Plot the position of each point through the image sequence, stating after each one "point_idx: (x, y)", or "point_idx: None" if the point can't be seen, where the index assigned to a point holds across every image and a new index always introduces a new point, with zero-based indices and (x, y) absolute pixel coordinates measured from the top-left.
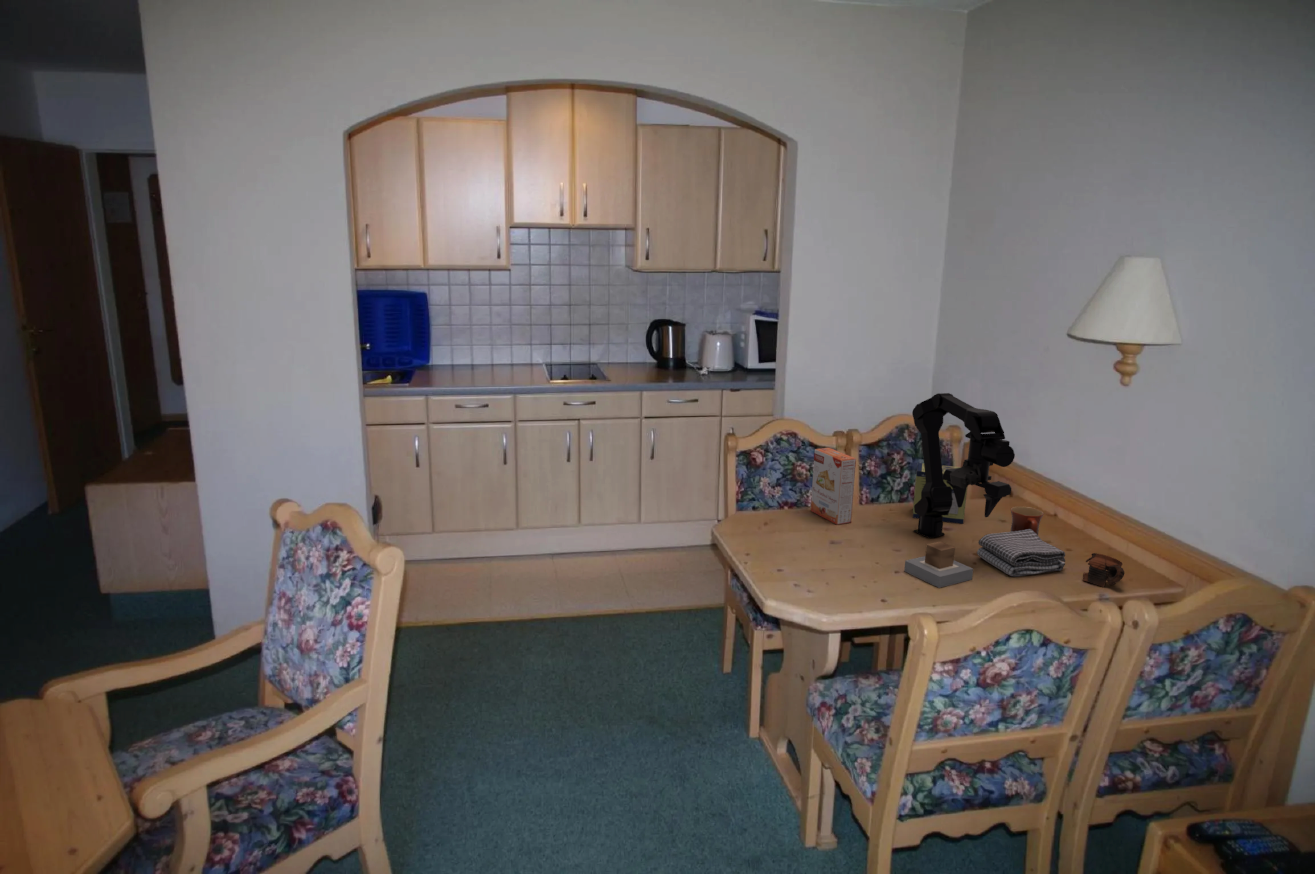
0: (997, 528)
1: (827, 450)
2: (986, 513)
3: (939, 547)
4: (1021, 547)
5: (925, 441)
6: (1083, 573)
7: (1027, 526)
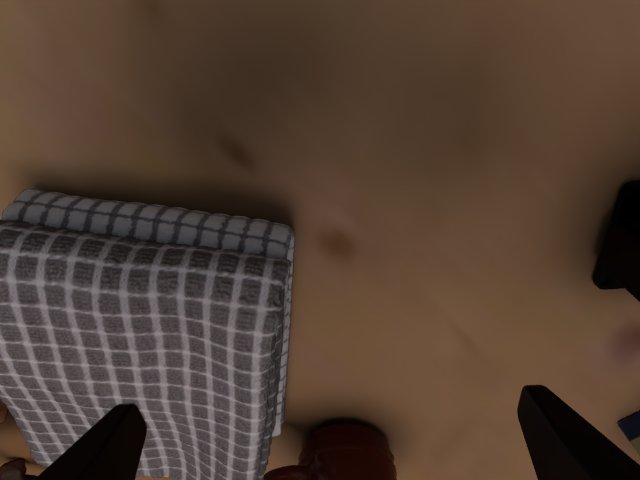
0: (501, 473)
1: None
2: (74, 445)
3: None
4: (42, 355)
5: None
6: (1, 415)
7: None
